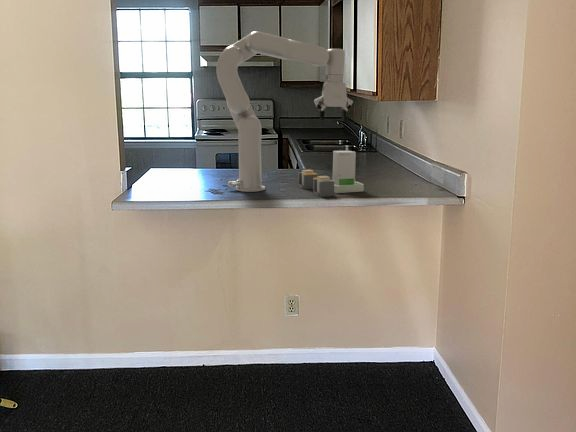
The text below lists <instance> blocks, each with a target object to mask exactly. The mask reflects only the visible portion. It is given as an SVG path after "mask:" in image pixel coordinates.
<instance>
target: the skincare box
mask: <svg viewBox="0 0 576 432" xmlns="http://www.w3.org/2000/svg"><path fill="white" fill-rule="evenodd" d="M356 153H357V152H356V151H354V150H353V151H352V150H333V151H332V155H333V156H332V179H331V180H332V181H334V184H335V185H337V186H339V185H354V184H355V181H356V158H357V154H356Z"/></svg>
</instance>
